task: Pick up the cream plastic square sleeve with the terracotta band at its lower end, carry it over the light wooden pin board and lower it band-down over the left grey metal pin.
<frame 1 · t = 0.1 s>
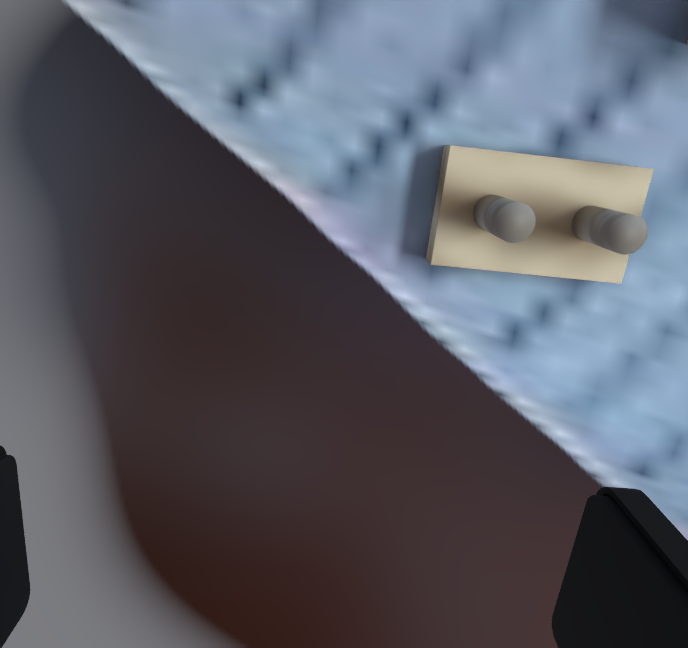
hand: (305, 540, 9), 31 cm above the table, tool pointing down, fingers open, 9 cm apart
pin board: (529, 214, 38), on the table
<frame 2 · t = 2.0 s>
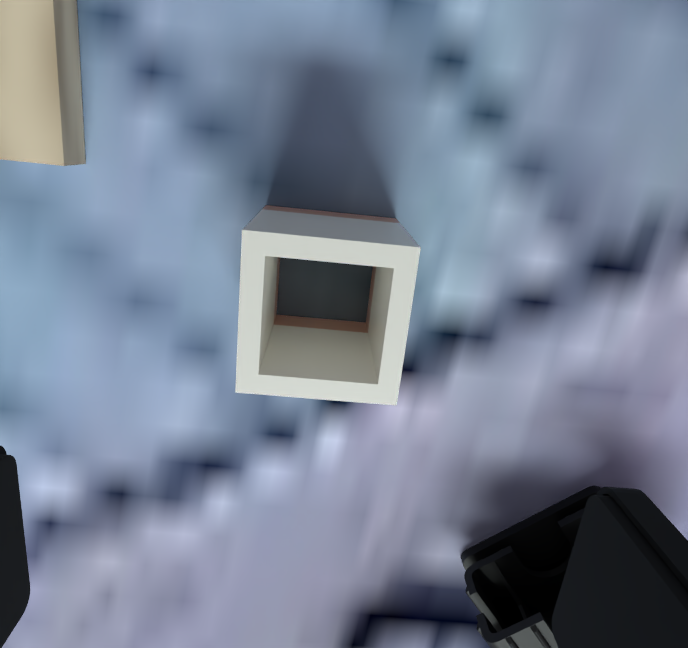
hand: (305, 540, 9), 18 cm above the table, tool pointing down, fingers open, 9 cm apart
sleeve: (325, 275, 25), on the table
end cap: (550, 556, 32), on the table
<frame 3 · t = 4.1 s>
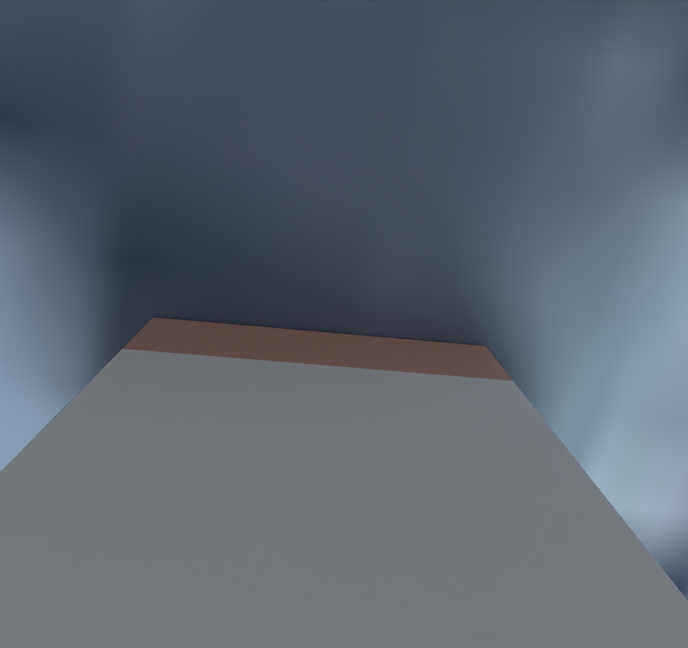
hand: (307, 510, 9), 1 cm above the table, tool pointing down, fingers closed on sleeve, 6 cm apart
sleeve: (309, 473, 10), on the table, touching gripper
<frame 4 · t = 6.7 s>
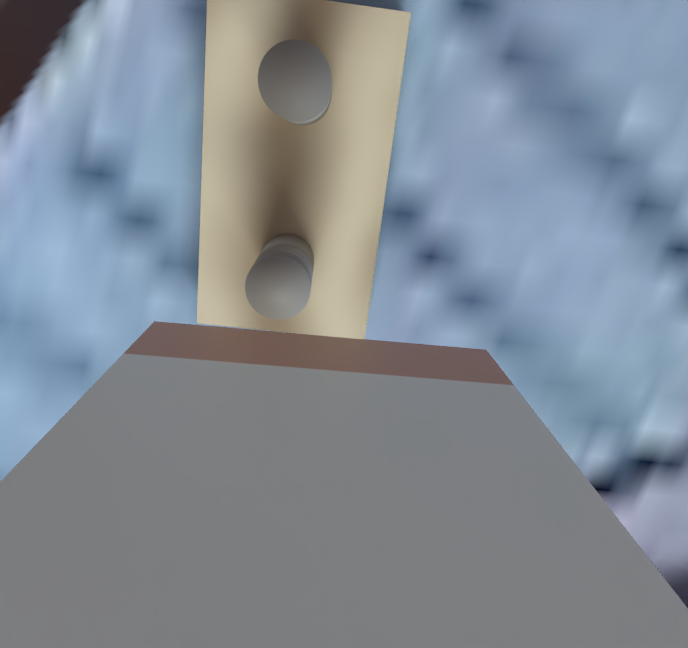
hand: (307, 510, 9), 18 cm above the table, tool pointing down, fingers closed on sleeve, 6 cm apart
sleeve: (310, 477, 10), point 17 cm above the table, touching gripper
pin board: (297, 178, 25), on the table
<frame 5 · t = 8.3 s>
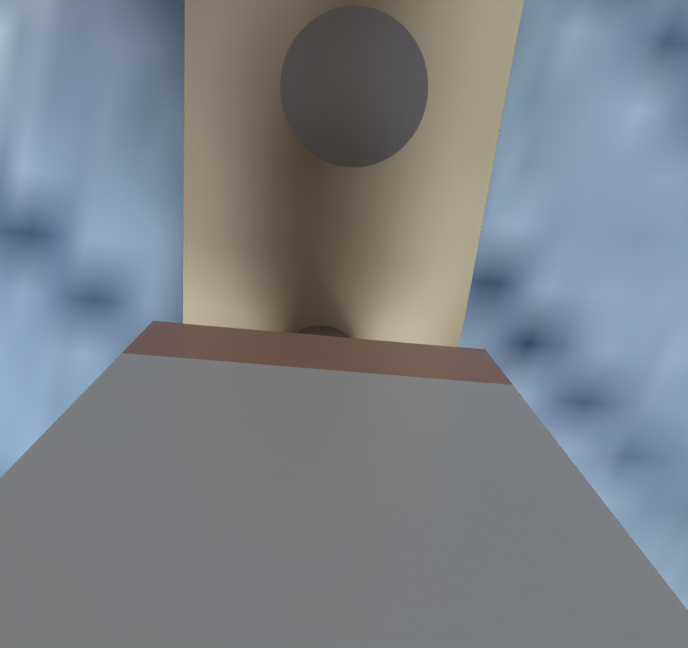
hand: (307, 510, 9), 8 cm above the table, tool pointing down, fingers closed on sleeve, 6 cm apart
sleeve: (308, 476, 10), point 7 cm above the table, touching gripper
pin board: (331, 234, 16), on the table
when the fingers open (5 cm above the table, at t = 9.5 s): sleeve drops 2 cm, resting on pin board.
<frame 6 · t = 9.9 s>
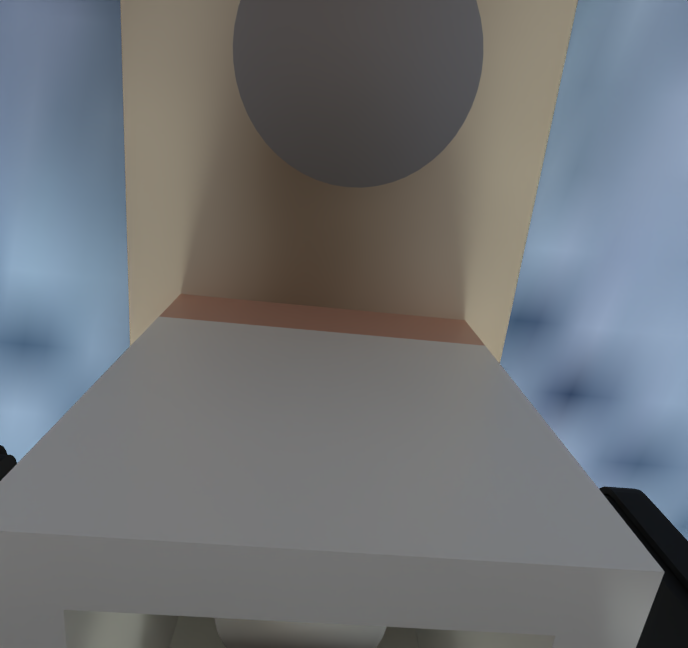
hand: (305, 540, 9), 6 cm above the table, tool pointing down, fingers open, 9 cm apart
sleeve: (312, 432, 12), point 2 cm above the table, touching pin board
pin board: (325, 261, 13), on the table
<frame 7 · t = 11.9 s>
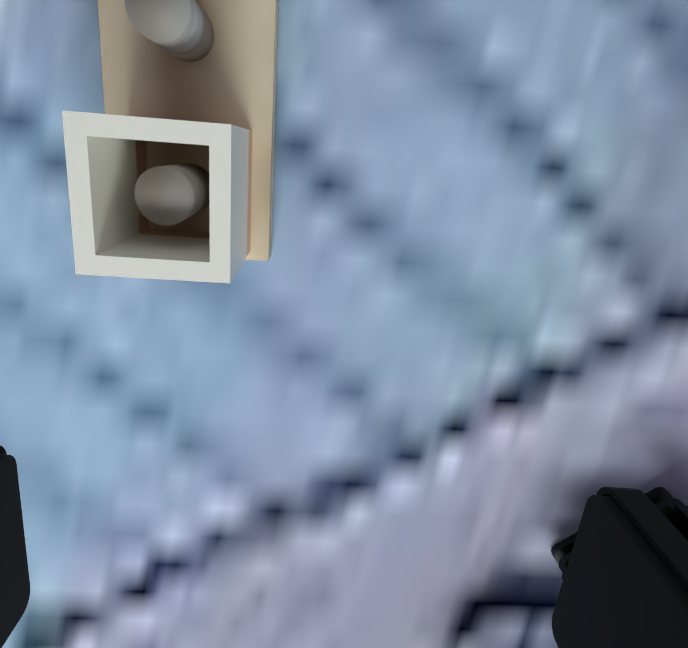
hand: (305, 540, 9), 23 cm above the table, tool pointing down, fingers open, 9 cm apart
sleeve: (191, 188, 27), point 2 cm above the table, touching pin board
end cap: (622, 546, 38), on the table
pin board: (197, 116, 27), on the table
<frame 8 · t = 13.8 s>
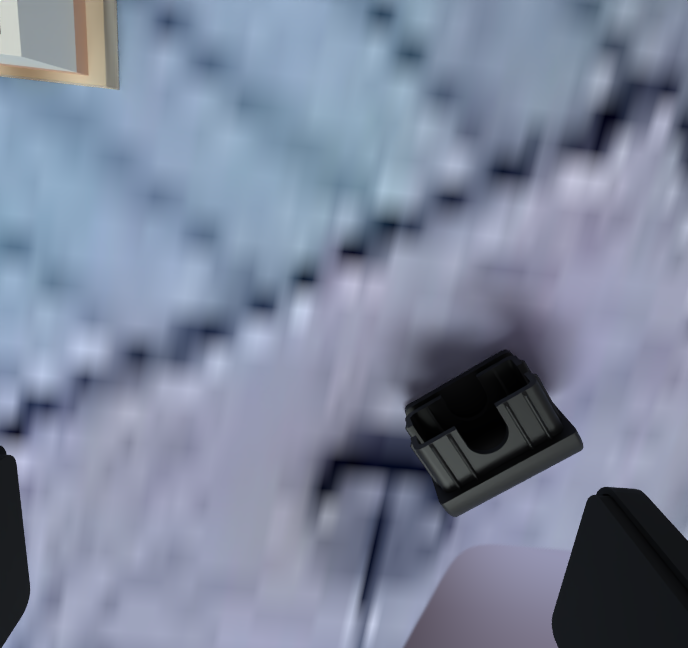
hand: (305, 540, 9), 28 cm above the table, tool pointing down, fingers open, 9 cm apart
sleeve: (29, 9, 29), point 2 cm above the table, touching pin board
end cap: (475, 411, 40), on the table
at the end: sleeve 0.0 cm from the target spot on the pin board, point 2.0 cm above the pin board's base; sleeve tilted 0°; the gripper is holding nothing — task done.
